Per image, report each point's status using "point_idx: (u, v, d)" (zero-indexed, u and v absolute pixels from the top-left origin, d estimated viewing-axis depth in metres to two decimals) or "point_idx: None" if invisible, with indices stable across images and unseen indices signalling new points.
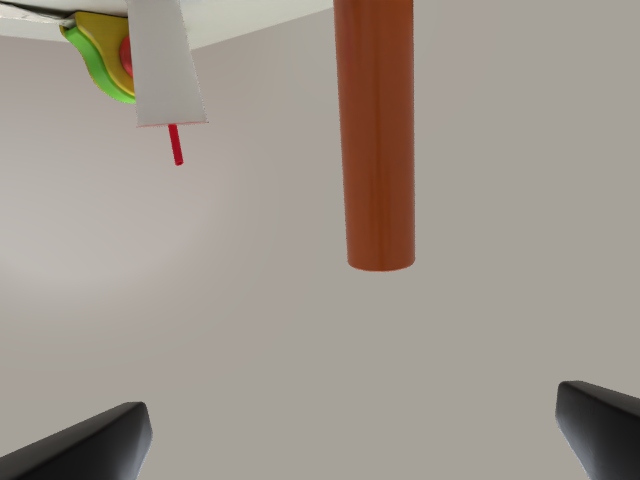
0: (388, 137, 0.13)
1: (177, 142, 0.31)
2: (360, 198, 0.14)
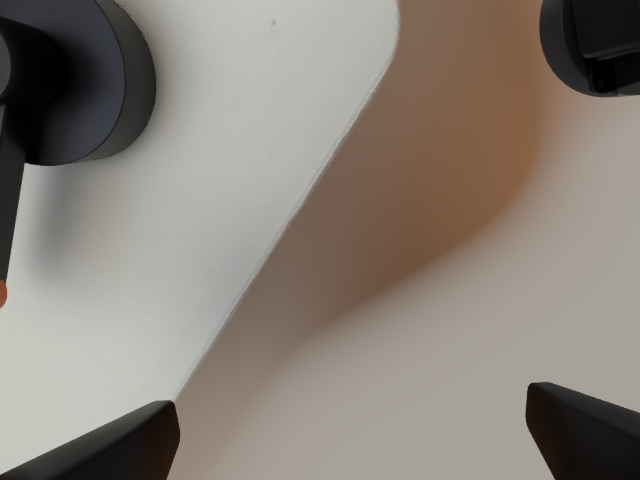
0: None
1: None
2: None
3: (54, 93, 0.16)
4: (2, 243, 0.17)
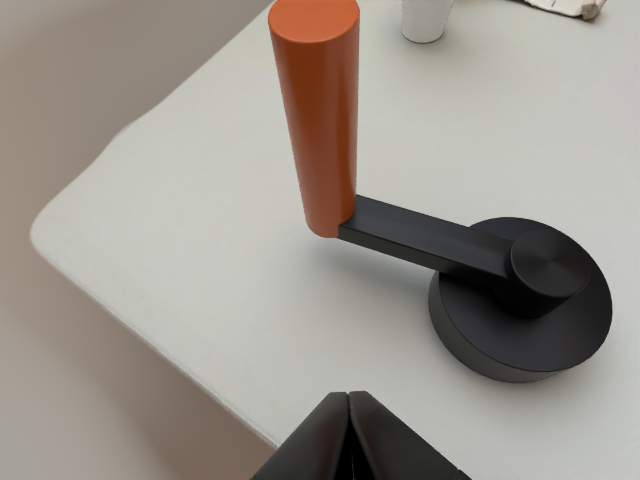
0: (328, 157, 0.15)
1: None
2: (351, 104, 0.13)
3: (509, 307, 0.19)
4: (375, 245, 0.20)
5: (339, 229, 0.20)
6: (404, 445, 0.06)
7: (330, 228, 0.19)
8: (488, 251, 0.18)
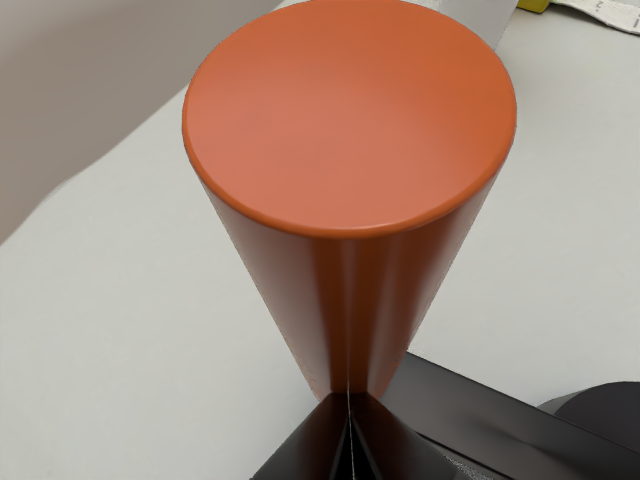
0: (355, 375, 0.07)
1: None
2: (428, 305, 0.05)
3: None
4: None
5: None
6: (405, 445, 0.06)
7: None
8: None
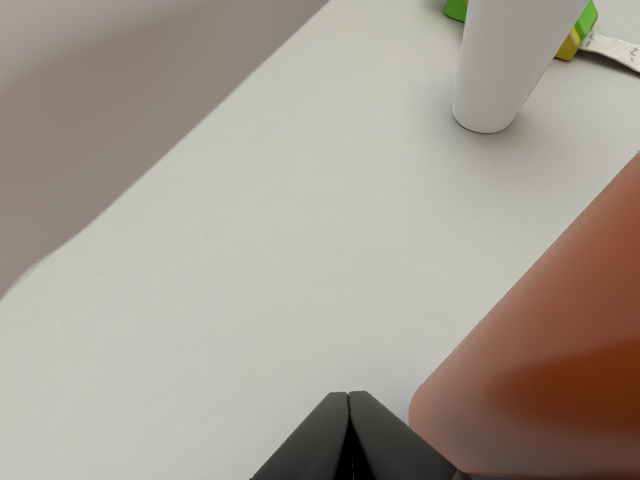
0: (533, 476, 0.06)
1: None
2: None
3: None
4: None
5: None
6: (404, 445, 0.06)
7: None
8: None
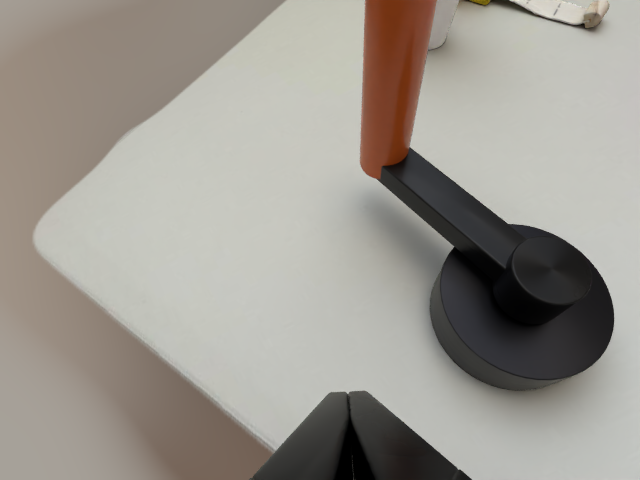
0: (384, 86, 0.17)
1: None
2: (416, 40, 0.15)
3: (498, 302, 0.19)
4: (405, 197, 0.21)
5: (382, 171, 0.21)
6: (404, 445, 0.06)
7: (374, 166, 0.21)
8: (500, 240, 0.18)
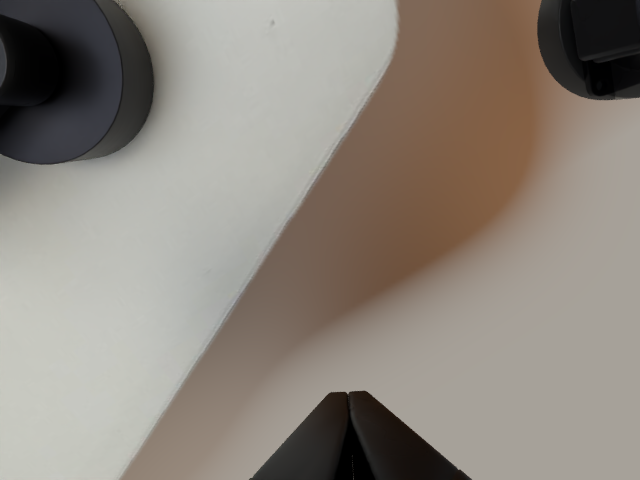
0: None
1: None
2: None
3: (37, 103, 0.16)
4: None
5: None
6: (404, 445, 0.06)
7: None
8: None
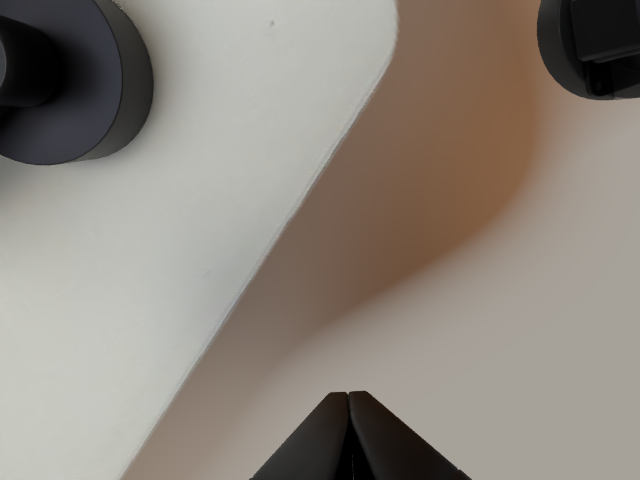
0: None
1: None
2: None
3: (37, 104, 0.16)
4: None
5: None
6: (404, 445, 0.06)
7: None
8: None
